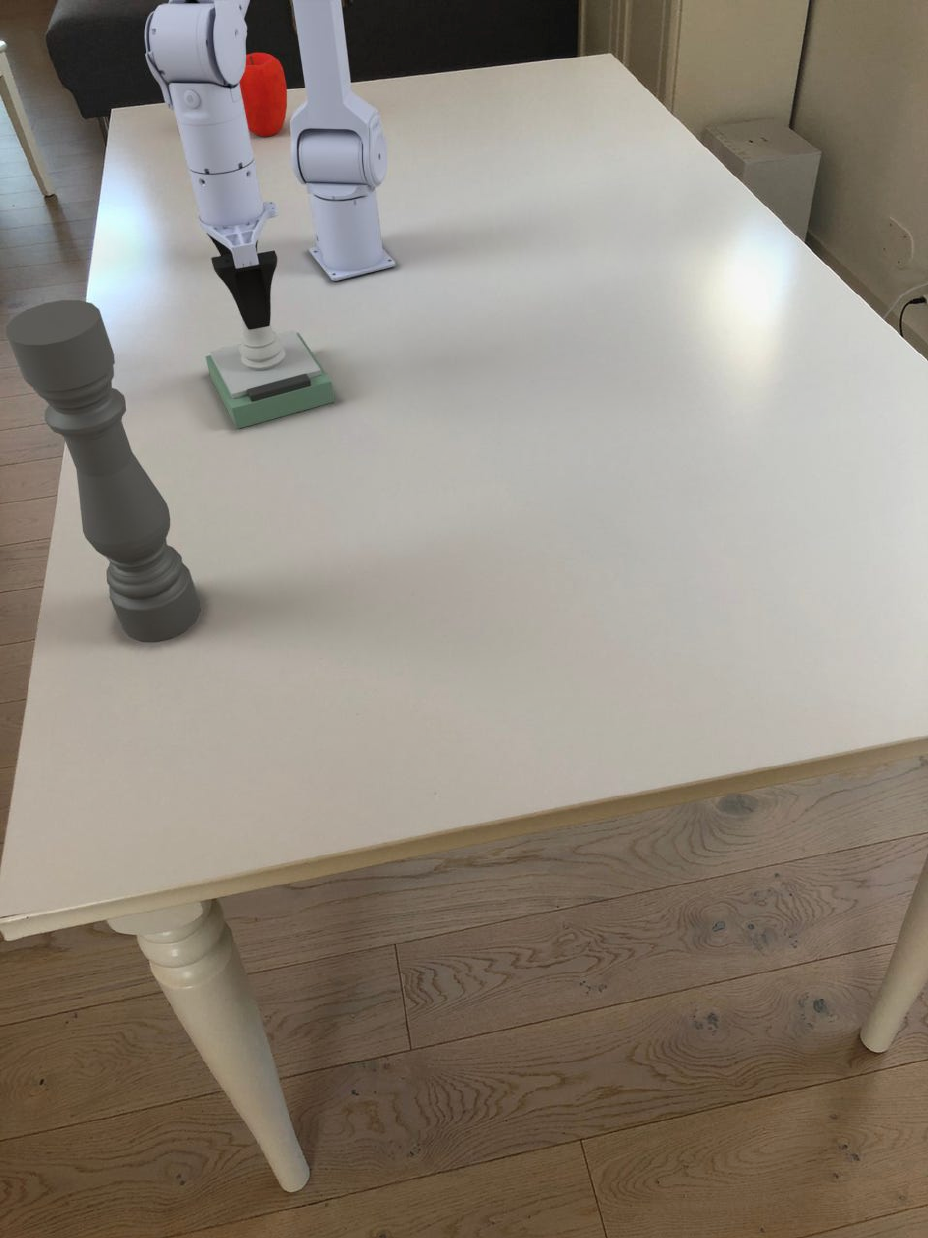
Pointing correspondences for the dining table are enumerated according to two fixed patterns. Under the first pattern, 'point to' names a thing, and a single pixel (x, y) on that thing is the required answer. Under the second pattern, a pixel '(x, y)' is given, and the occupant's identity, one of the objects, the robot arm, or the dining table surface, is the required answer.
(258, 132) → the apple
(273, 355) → the rook chess piece
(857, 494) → the dining table surface
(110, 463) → the candle holder
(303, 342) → the scale
